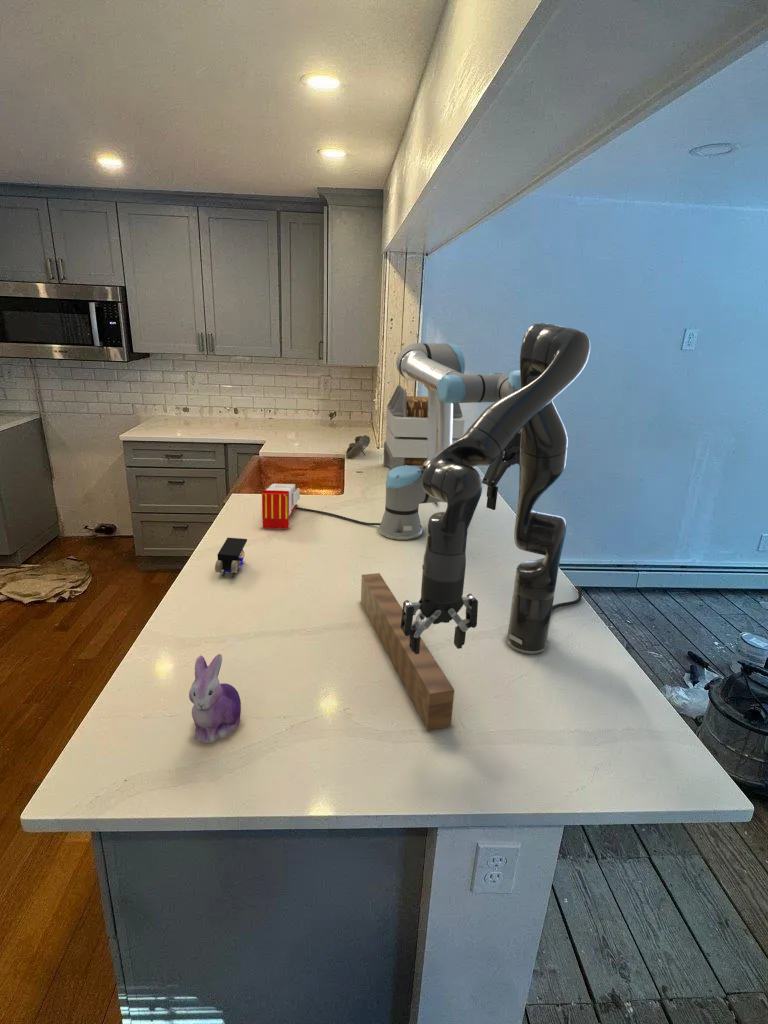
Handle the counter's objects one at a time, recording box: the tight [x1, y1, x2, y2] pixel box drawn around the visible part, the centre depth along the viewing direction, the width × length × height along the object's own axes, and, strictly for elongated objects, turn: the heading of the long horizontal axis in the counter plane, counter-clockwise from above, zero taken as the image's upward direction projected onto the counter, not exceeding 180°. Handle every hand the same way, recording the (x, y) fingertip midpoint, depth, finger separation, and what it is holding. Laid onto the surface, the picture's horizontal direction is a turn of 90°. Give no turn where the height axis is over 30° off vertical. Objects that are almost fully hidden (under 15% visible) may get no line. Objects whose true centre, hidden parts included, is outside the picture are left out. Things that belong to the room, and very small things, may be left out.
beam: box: [360, 572, 455, 731], centre depth 129 cm, size 50×5×8 cm, turn 17°
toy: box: [261, 483, 301, 530], centre depth 210 cm, size 12×13×30 cm
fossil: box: [345, 434, 371, 459], centre depth 302 cm, size 22×10×15 cm
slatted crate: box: [383, 384, 465, 471], centre depth 268 cm, size 34×33×41 cm
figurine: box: [188, 653, 242, 744], centre depth 103 cm, size 9×10×15 cm
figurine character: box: [214, 537, 248, 578], centre depth 166 cm, size 7×8×15 cm
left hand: (508, 504), depth 160 cm, fingers open, 13 cm apart
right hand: (436, 649), depth 106 cm, fingers open, 8 cm apart
